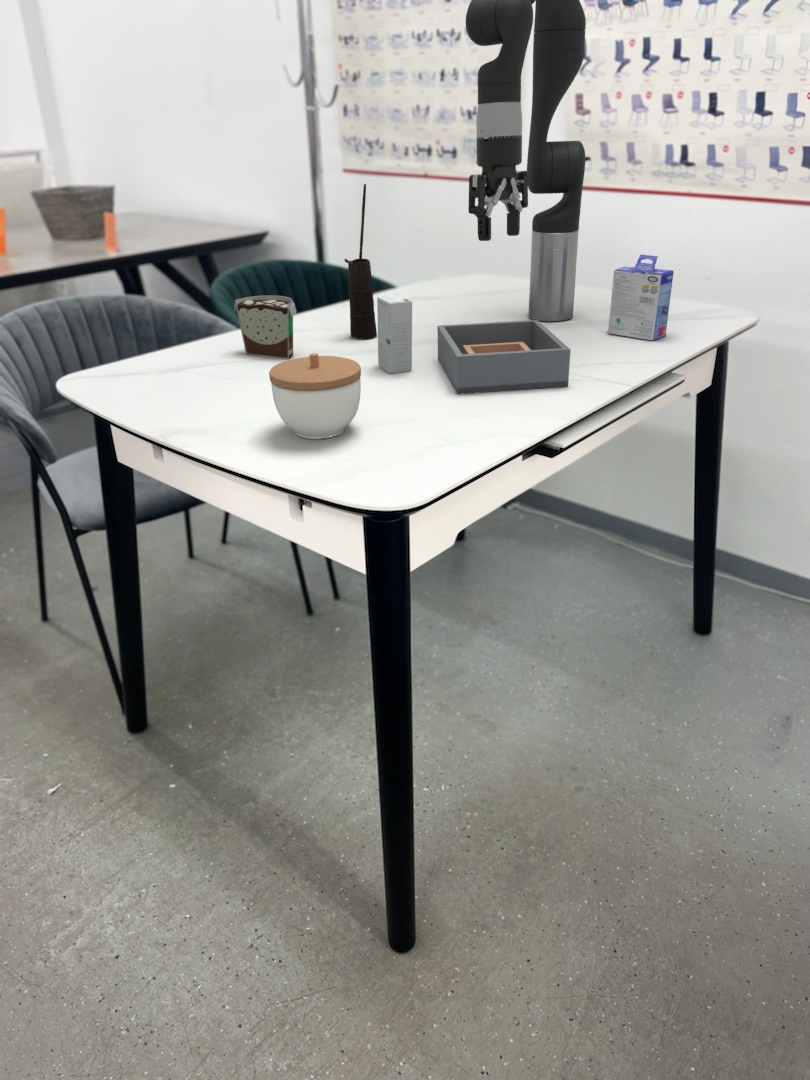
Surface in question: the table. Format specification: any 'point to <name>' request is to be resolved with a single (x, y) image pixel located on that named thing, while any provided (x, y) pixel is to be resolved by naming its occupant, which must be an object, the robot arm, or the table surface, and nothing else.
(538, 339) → the walled box
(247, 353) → the food container
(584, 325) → the table surface
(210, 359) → the table surface
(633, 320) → the ink cartridge box
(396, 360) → the skincare box
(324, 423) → the lidded bowl
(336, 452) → the table surface
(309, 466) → the table surface
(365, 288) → the butter churn
